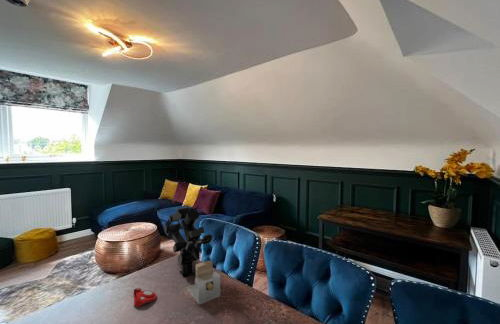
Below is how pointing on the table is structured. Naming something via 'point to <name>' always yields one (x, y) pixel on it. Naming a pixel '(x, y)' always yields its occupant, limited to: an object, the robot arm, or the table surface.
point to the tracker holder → (143, 297)
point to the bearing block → (205, 288)
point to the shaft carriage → (205, 272)
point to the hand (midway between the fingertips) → (198, 259)
